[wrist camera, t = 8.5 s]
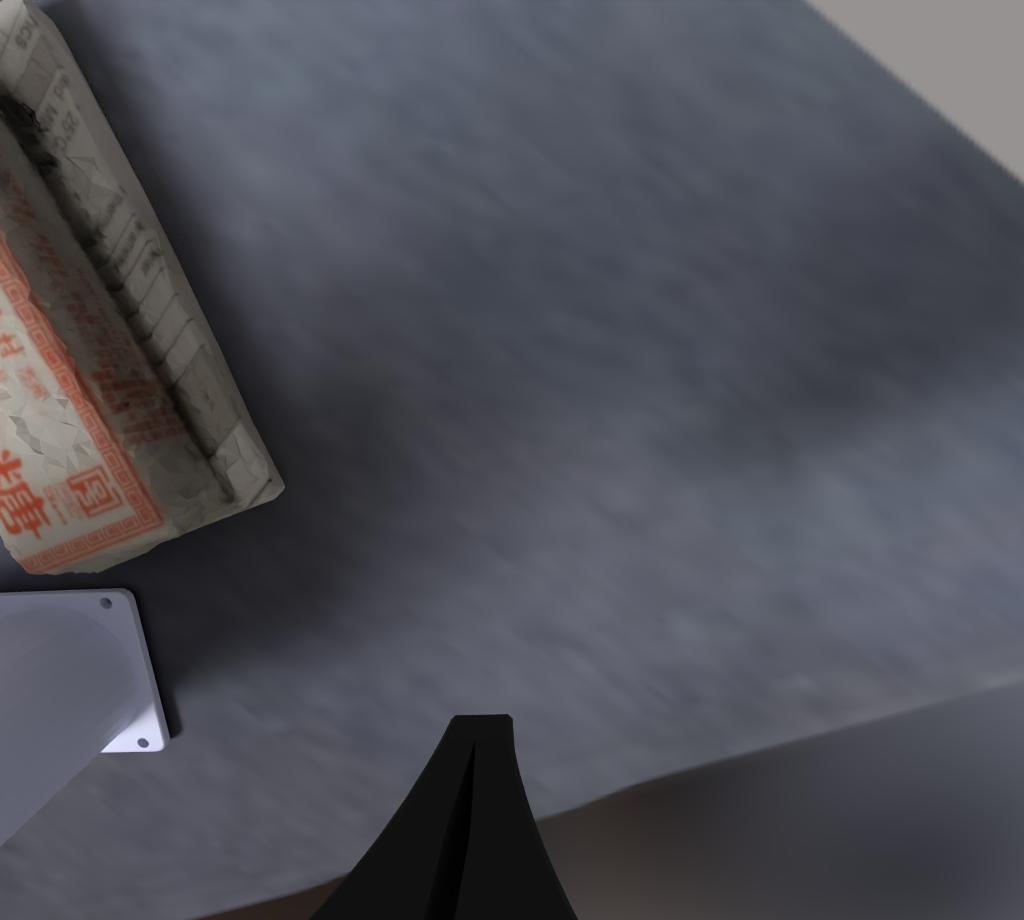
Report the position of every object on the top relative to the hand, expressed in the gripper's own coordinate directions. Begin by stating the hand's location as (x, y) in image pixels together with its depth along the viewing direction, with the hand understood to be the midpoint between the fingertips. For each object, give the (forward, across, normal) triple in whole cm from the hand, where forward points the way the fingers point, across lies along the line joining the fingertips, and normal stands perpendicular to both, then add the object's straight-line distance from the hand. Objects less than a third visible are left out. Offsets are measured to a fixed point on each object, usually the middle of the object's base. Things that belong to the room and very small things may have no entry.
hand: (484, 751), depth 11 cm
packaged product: (+10, +16, -11) cm, 22 cm away
